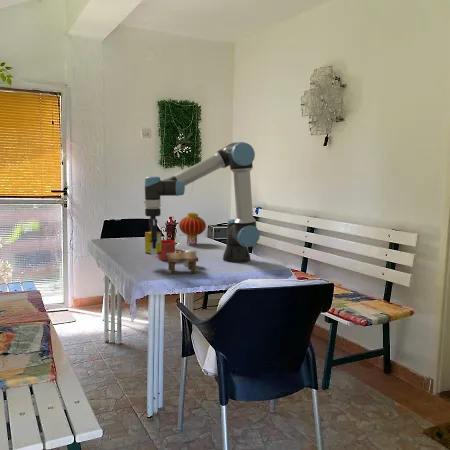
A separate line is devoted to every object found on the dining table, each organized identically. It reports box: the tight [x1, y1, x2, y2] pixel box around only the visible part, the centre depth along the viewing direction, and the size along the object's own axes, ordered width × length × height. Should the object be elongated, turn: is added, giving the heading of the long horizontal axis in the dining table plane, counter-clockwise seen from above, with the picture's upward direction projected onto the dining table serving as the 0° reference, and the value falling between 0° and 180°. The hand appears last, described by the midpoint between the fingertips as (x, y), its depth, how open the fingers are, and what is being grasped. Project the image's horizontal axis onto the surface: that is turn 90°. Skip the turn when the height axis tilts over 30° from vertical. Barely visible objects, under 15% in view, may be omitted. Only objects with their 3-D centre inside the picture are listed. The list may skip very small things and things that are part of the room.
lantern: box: [178, 212, 207, 246], centre depth 311 cm, size 17×17×30 cm
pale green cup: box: [183, 249, 197, 268], centre depth 251 cm, size 6×6×8 cm
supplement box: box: [144, 231, 162, 256], centre depth 242 cm, size 6×6×11 cm
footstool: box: [166, 252, 199, 275], centre depth 239 cm, size 14×14×8 cm
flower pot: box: [157, 239, 176, 261], centre depth 266 cm, size 11×11×10 cm
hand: (153, 252), depth 243 cm, fingers closed on supplement box, 8 cm apart
